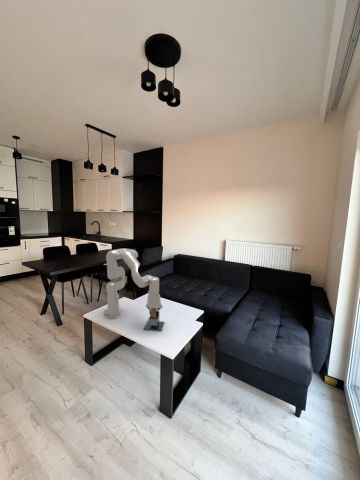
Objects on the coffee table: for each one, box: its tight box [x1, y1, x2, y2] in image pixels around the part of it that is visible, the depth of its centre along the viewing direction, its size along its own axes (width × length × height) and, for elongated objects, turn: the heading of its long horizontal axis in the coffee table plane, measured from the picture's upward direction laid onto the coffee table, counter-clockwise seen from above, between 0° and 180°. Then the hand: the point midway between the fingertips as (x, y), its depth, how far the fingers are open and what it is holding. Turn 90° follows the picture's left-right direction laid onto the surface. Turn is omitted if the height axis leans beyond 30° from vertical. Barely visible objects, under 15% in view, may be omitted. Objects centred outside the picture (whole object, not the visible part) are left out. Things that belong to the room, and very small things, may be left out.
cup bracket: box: [143, 310, 165, 332], centre depth 156 cm, size 14×12×12 cm
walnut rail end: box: [151, 308, 157, 319], centre depth 154 cm, size 4×4×12 cm
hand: (153, 315), depth 154 cm, fingers closed on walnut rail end, 3 cm apart
